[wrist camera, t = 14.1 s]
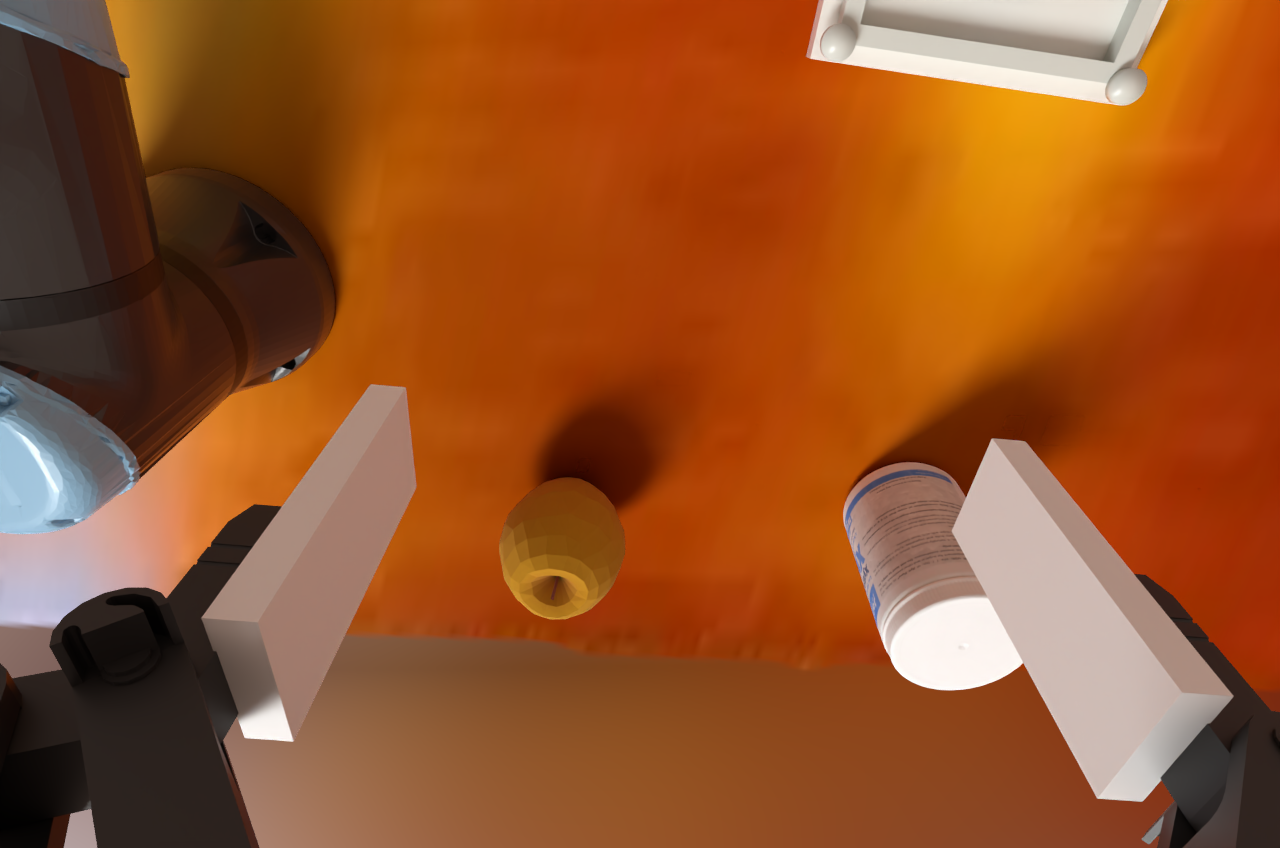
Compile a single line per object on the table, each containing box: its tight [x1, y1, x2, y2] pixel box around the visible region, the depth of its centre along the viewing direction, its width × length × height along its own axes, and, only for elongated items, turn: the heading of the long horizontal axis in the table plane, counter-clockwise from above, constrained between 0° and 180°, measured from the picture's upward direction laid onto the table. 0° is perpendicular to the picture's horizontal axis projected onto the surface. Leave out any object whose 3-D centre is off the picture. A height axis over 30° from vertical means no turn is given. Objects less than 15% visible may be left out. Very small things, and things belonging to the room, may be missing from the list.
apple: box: [499, 477, 625, 619], centre depth 54 cm, size 10×10×12 cm
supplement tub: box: [843, 462, 1023, 690], centre depth 51 cm, size 10×10×15 cm
